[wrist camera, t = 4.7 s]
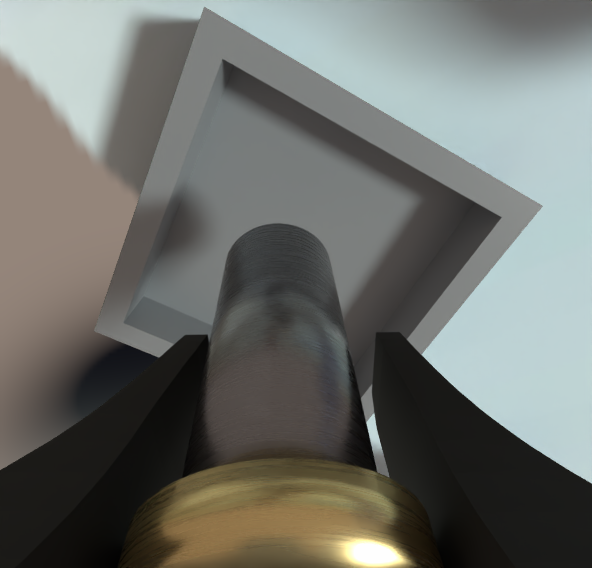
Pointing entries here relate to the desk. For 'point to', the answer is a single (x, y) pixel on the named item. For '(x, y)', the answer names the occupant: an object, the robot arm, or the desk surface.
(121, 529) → the robot arm
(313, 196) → the tray
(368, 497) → the pin
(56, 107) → the desk surface
